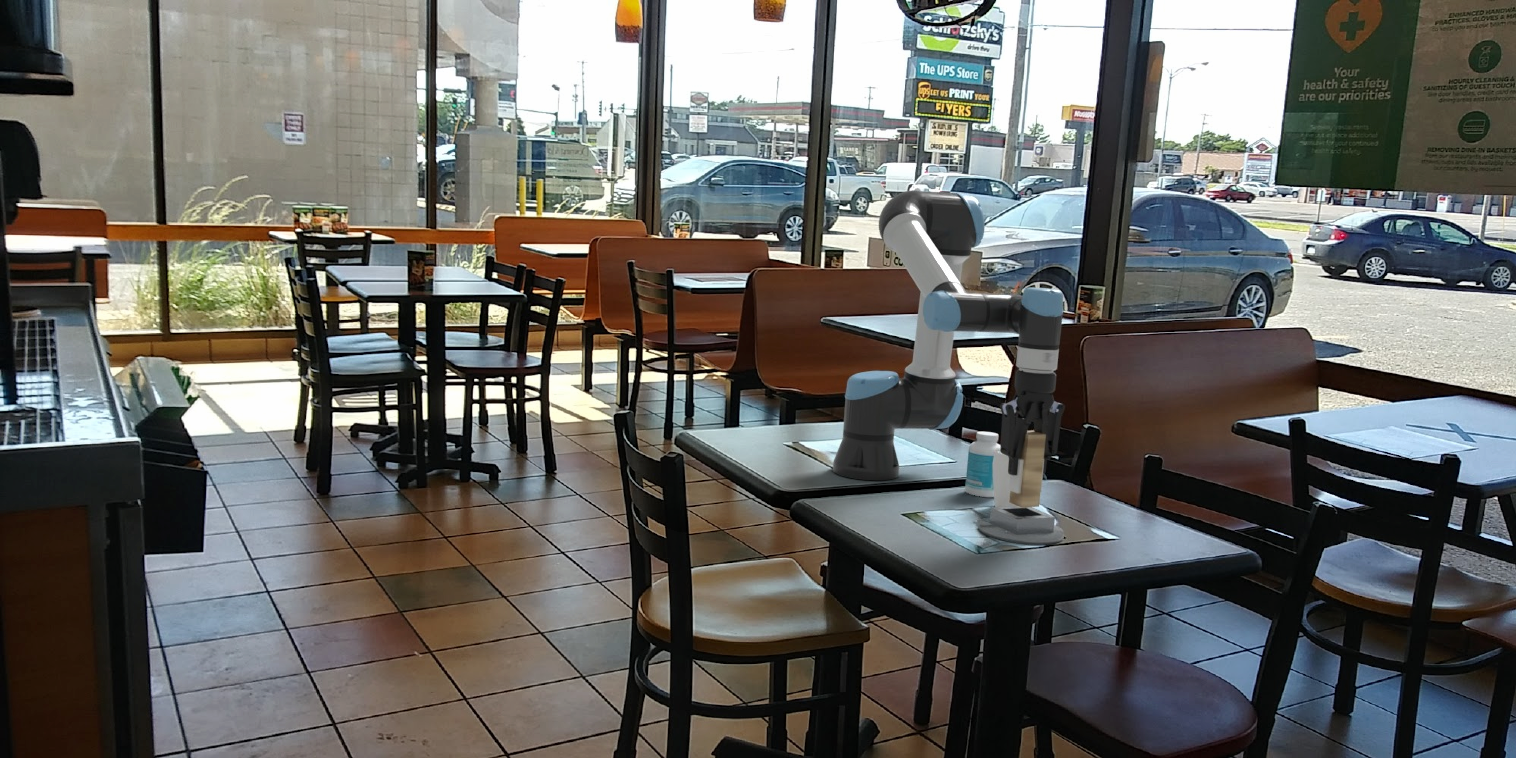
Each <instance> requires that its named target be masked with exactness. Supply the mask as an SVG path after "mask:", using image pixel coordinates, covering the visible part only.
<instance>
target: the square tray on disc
mask: <svg viewBox="0 0 1516 758" xmlns="http://www.w3.org/2000/svg"><path fill="white" fill-rule="evenodd" d="M1055 519H1056V516H1053V515H1052V514H1048V513H1046V512H1044V511H1042V510H1039V509H1037V508H1036V507H1023V508H1021V507H1019V506H1009V507H995V506H993V507H992V506H991V507H990V516H987V517H984V518H982V519H981V520H979V521H978V530H979V531H980V532H981V533H982V534H984V535H985V536H988V537H990V538H992V539H997V540H1000V541H1003V542H1009V543H1013V544H1021V545H1035V546H1036V545H1037V546H1038V545H1039V546H1041V545H1042V546H1043V545H1052V544H1057V543H1060V542H1062V541H1063V540H1064V537H1065V531H1064V530H1063V529H1062V528H1061V527H1060V526H1059V525H1056V524H1055Z"/></svg>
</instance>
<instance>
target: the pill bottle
mask: <svg viewBox="0 0 1516 758" xmlns="http://www.w3.org/2000/svg"><path fill="white" fill-rule="evenodd" d="M975 435H976V436H975V437H976V441H973V442H972V443H970V445H969V447H968V455H967V466H966V476H965V485H964V486H965V487H964V489H965V492H966V494H968V493H969V495H971V496H974V495H975V497H979V496H980V498H994V486H993V458H994V452H995V449H998V448H1000V447H1001V444H999V443H998V442H999V434H998V433H996V432H991V431H977V432H976V434H975Z"/></svg>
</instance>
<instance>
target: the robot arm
mask: <svg viewBox="0 0 1516 758" xmlns="http://www.w3.org/2000/svg"><path fill="white" fill-rule="evenodd" d="M985 226H986V225H985V216H984V211H983V209H982V207H981V204H980V202H979V201H978V199H977V198H976V197H974V196H973V195H971V194H963V193H959V192H946V191H945V192H943V191H941V192H940V191H925V190H923V191H922V190H906V191H903V192H900V193H898V194H896V195H895V196H893V197H892V198H890V199H889V200H888V201H887V202H886V203H885V205H884V206H883V208H882V210H881V212H880V214H879V219H878V231H879V235H880V237H881V239H882V241H883V243H884V245H885V246H886V247H887V249H889V250H890V251H892V252H894V253H896V255H897V256H898V258H899V259H900V261H901V262H902V264H903V266H904V268H905V269H906V271H907V272H908V273H909V276H910V277H911V278H912V280H913V281H914V284H915V285H916V287H917V288H918V289H919V291H920V295H919V302H918V312H917V319H916V329H915V338H914V345H913V353H912V354H913V356H912V362H911V363H910V364H909V365H907V366H906V367H905V369H904V374H903V377H901V378H900V377H899V374H898V373H897V372H896V371H890V370H871V371H863V372H858V373H854V374H853V375H851V376H849V378H848V379H847V382H846V389H845V394H844V398H845V402H844V414H843V416H844V417H843V428H842V429H843V430H842V431H843V432H842V439H841V442H840V443H839V446H838V449H837V452H836V454H835V456H834V459H833V462H832V472H833V473H835V474H836V475H838V476H841V477H845V478H850V479H855V480H862V481H889V480H893V479H894V480H895V479H896V478H898V477H899V474H900V473H899V472H900V464H899V459H898V456H897V452H896V448H895V443H894V442H895V441H894V440H895V430H896V429H897V430H899V429H900V430H903V429H904V430H905V429H909V430H911V429H913V430H917V429H918V430H922V429H924V430H930V431H931V430H932V431H933V430H936V429H938V430H939V429H947V428H949V427H952V425H953V424H954V423H955V422H956V421H957V420H958V418H959V416H960V414H961V411H962V408H963V403H964V402H963V401H964V394H963V393H962V392H963V387H962V384H961V383H960V381H959V380H957V379H956V372H955V371H954V370H953V368H951V361H952V360H951V359H952V352H953V345H954V335H955V332H968V333H969V332H974V333H975V332H977V333H1002V334H1004V333H1005V334H1014V335H1015V334H1016V335H1018V342H1017V344H1018V345H1017V352H1016V363H1015V366H1016V367H1017V368H1018V369H1017V370H1015V375H1014V389H1015V393H1014V396H1013V397H1012V400H1011V401H1009V402H1007V403H1005V402H1001V403H1000V405H999V407H1000V411H1001V412H1000V413H1001V415H1002V416H1001V431H1000V445H1001V447H1000V452H1001V453H1002V454H1004V455H1007V456H1008V457H1009V464H1008V474H1010V485H1009V490H1010V491H1013V492H1015V493H1021V484H1022V473H1023V462H1024V460H1023V459H1020V457H1021V453H1022V449H1023V445H1024V442H1025V436H1026V434H1027V431H1029V430H1028V429H1029V426H1030V425H1031V424H1032V423H1033V428H1034V429H1033V431H1035V432H1038V433H1042V434H1046V439H1045V449H1044V460H1043V470H1042V479H1043V478H1044V475H1045V474H1046V473H1047V472H1046V471H1047V463H1048V462H1047V461H1048V460H1051V459H1052V455H1054V456H1055V455H1056V454H1058V453H1057V452H1058V445H1059V439H1060V438H1059V437H1060V431H1061V425H1062V424H1061V422H1062V416H1063V414H1064V412H1065V409H1066V405H1065V404H1063V403H1060V402H1057V401H1055V399H1054V395H1053V393H1054V392H1055V391H1056V384H1057V374H1056V372H1054V371H1056V370H1058V361H1059V360H1058V359H1059V352H1060V347H1059V346H1060V343H1061V341H1060V340H1061V334H1062V325H1063V323H1062V322H1063V315H1064V294H1063V292H1062V291H1061V290H1060V289H1056V288H1047V287H1027V288H1026V287H1025V289H1024V290H1023V292H1022V295H1020V294H1017V293H1014V292H1013V293H1009V292H1004V293H983V292H968V291H967V289H965V287H964V286H963V285H962V284H961V280H962V279H961V278H962V273H963V272H962V271H963V265H964V262H965V261H966V260H968V259H969V258H970V257H971V255H972V249H973V248H977V247H978V246H980V244H981V243H982V240H983V238H984V235H985ZM1042 485H1043V480H1042V481H1041V491H1040V493H1042V487H1043V486H1042Z"/></svg>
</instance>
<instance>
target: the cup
mask: <svg viewBox="0 0 1516 758" xmlns="http://www.w3.org/2000/svg"><path fill="white" fill-rule="evenodd" d="M1008 464H1009V457H1008V456H1007V455H1004V454H1002V453H1001V452H1000V448H998V449H995V452H994V458H993V486H994V497H993V501H994V507H1009V506H1017V505H1014V504H1012V503H1010V502H1009V500H1010V490H1009V485H1010V474H1008Z"/></svg>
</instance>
